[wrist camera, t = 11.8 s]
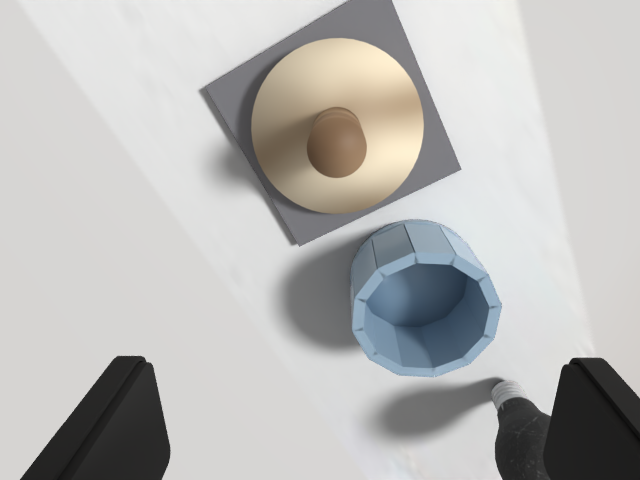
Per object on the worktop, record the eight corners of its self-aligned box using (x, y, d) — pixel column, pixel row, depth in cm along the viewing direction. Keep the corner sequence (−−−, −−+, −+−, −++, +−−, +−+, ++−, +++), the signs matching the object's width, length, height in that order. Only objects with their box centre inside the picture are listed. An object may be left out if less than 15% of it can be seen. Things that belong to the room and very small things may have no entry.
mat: (459, 167, 28) (461, 169, 28) (300, 243, 31) (299, 246, 30) (382, -18, 25) (383, -20, 24) (207, 86, 27) (205, 87, 27)
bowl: (491, 300, 32) (520, 346, 27) (381, 345, 34) (388, 395, 29) (446, 197, 29) (469, 226, 24) (328, 252, 31) (326, 290, 26)
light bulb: (455, 398, 36) (495, 516, 27) (491, 348, 34) (548, 456, 25) (514, 420, 37) (573, 542, 27) (552, 372, 34) (631, 486, 25)
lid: (445, 163, 28) (473, 191, 22) (304, 232, 30) (297, 273, 24) (376, 2, 24) (388, -14, 19) (223, 94, 27) (192, 103, 21)
